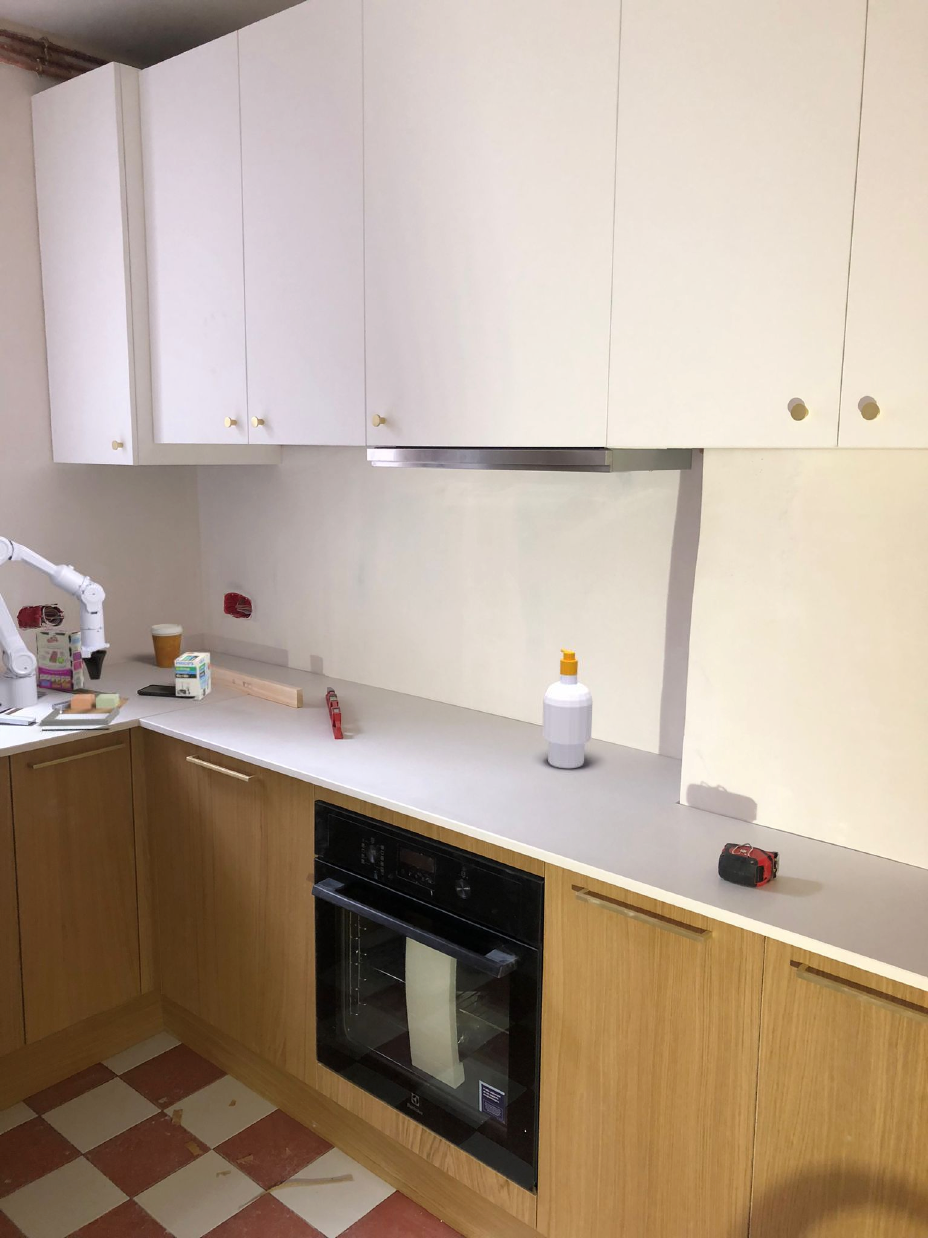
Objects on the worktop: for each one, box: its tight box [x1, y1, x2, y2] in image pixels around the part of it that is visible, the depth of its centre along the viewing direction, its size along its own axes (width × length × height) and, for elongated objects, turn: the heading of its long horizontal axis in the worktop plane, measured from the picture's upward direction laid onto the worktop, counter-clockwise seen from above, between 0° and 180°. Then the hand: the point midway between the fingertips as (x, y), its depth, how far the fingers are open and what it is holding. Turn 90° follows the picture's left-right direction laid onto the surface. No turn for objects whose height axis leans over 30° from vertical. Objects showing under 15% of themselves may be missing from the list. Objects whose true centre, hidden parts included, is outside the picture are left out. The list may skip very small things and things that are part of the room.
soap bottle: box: [542, 648, 593, 770], centre depth 206 cm, size 10×10×24 cm
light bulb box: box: [174, 651, 212, 701], centre depth 260 cm, size 11×7×11 cm, turn 179°
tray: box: [40, 708, 120, 732], centre depth 232 cm, size 15×10×2 cm
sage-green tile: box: [95, 693, 120, 708], centre depth 245 cm, size 4×4×2 cm
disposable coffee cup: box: [149, 623, 184, 669], centre depth 295 cm, size 10×10×12 cm
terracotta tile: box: [70, 693, 96, 709], centre depth 244 cm, size 4×4×2 cm
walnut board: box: [60, 697, 130, 715], centre depth 245 cm, size 13×14×1 cm
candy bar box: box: [35, 628, 85, 691], centre depth 263 cm, size 11×5×16 cm, turn 73°
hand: (95, 679), depth 255 cm, fingers closed
